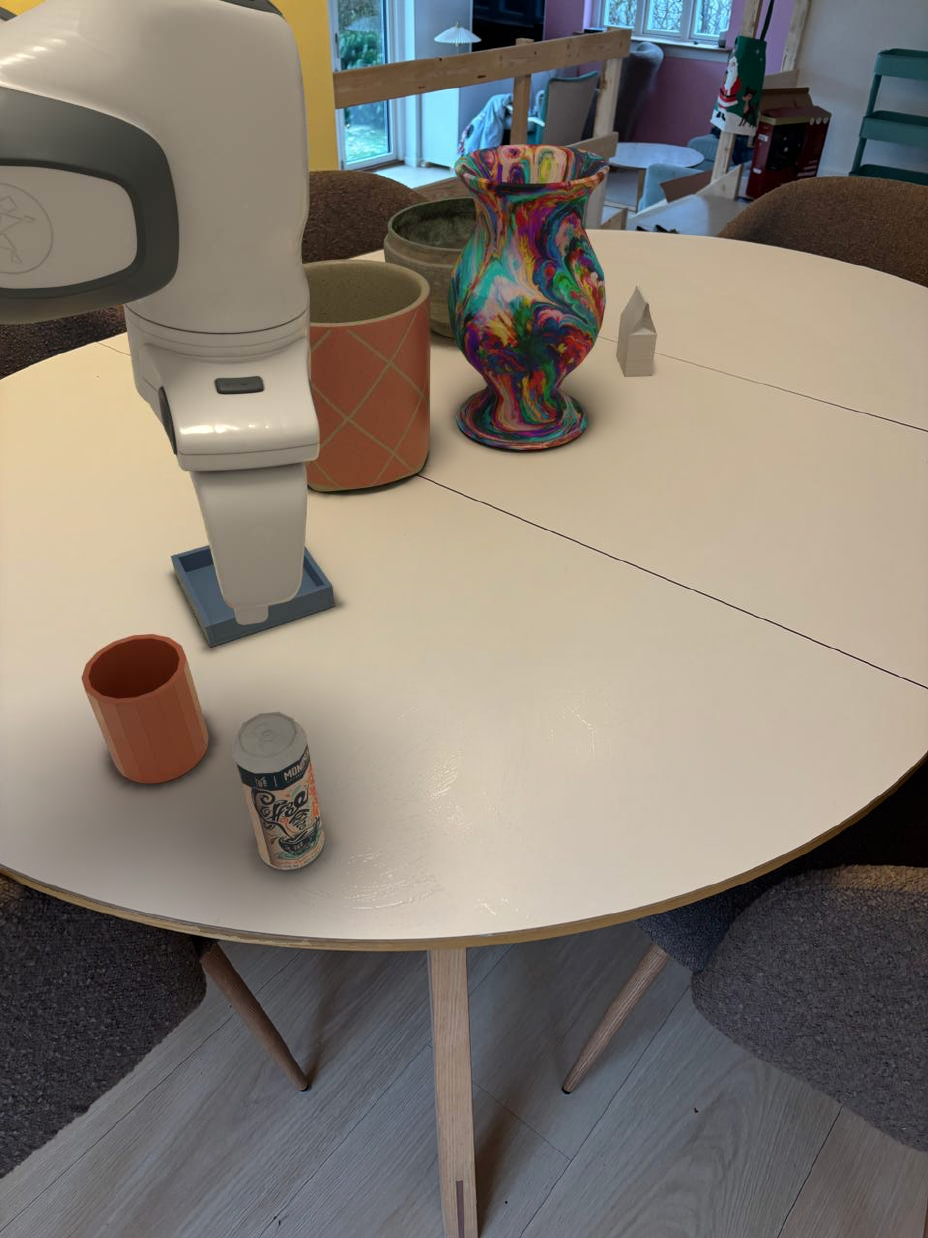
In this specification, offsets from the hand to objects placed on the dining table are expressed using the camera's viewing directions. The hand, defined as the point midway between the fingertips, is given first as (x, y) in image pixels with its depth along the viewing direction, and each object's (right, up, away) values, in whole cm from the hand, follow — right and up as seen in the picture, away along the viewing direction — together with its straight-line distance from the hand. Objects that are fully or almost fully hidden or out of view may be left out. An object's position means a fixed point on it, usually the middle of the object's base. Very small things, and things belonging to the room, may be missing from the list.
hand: (237, 565), depth 54 cm
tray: (-7, -1, +33) cm, 34 cm away
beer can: (+1, -20, +11) cm, 23 cm away
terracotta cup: (-11, -14, +18) cm, 25 cm away
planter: (+1, +16, +53) cm, 55 cm away
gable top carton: (+38, +32, +71) cm, 87 cm away
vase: (+21, +22, +59) cm, 67 cm away
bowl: (+15, +43, +84) cm, 95 cm away
